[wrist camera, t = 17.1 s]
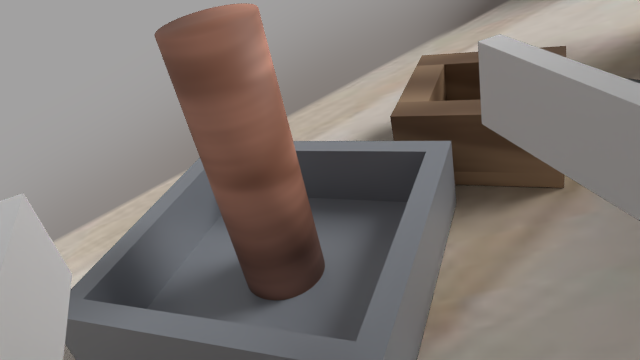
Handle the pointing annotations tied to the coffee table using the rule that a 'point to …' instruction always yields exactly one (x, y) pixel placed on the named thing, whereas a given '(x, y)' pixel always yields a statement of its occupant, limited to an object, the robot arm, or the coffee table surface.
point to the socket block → (465, 124)
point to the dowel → (245, 145)
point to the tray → (290, 314)
